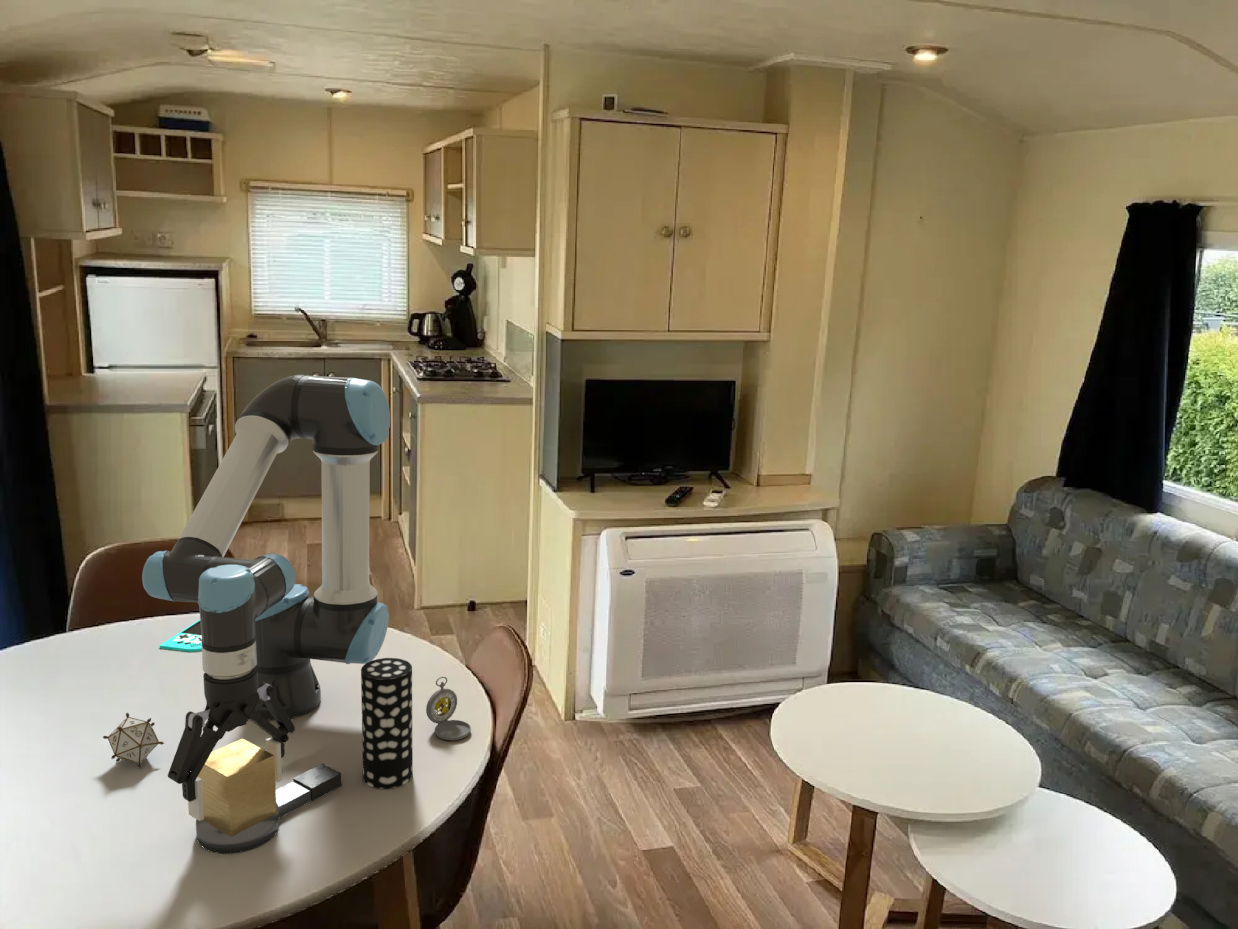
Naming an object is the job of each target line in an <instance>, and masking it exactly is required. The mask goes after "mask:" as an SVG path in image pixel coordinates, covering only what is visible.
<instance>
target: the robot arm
mask: <svg viewBox="0 0 1238 929" xmlns="http://www.w3.org/2000/svg"><path fill="white" fill-rule="evenodd" d="M389 429H391V413H390V405H389V401H388V399H387V395H386V392H385V391H384V389H383V388H382V387H381V386H380V385H379V384H378V383H376V381H372V380H369V379H363V378H357V377H343V376H340V377H339V376H337V377H336V376H325V375H324V376H321V375H309V374H295V375H290V376H287V377H286V376H285V377H284V378H281V379H279V380H277V381H275V382H273V383H272V384H270V385H268V386H267V387H266V388H264V389H263V390H261V391H260V392H259V393H257V395H255V397H254V398H253V399H252V400H251V401H250V402H249V403H248V404H247V405H246V406H245V407H244V409H243V410H242V412H241V413H240V415H239V417H238V419H237V420H236V422H235V425H234V431H235V437H234V438H233V440H232V441H231V443H230V445H229V447H228V449H227V450H226V452H225V454H224V456H223V458H222V460H221V462H220V463H219V465H218V468H216V471H215V472H214V474H213V476H212V478H211V480H210V481H209V483H208V485H207V486H206V489H205V490H204V492H203V494H202V496H201V498H200V500H199V501H198V503H197V505H196V506H195V508H194V510H193V512H192V514H191V516H190V517H189V519H188V520H187V521H188V522H187V523H186V525H185V526H184V528H183V530H182V532H181V534H180V535H179V537H178V539H177V541H176V542H175V544H174V545H173V547H172V549H171V550H170V551H169V550H164V551H162V550H159V551H156V552H154V553H153V554H152V555H149V557H148V558H147V559H146V561H145V563H144V565H143V569H142V575H141V577H142V578H141V580H142V586H143V589H144V590H145V591H146V594H148V595H149V596H150V597H153V598H155V599H160V600H166V601H171V602H184V603H197V604H198V607H199V608H198V610H199V620H200V622H201V634H202V651H201V659H202V660H201V662H202V670H203V672H204V673H203V694H204V697H205V698H204V699H205V702H206V705H205V708H204V710H201V711H199V712H193V711H188V712H186V714H185V724H184V729H183V732H182V735H181V738H180V741H179V743H178V745H177V749H176V750H175V751H176V752H175V754H174V757H173V759H172V762H171V765H170V768H169V770H168V774H167V777H168V779H170V780H171V781H173V782H175V783H177V784H178V785H181V788H182V798H183V799H184V800H186V801H187V803H188V804H187V805H188V816H190V817H191V818H194V819H195V820H196V819H197V820H199V821H201V820H203V819H204V808H203V791H202V779H200V778H199V777H198V775H199V773H200V771H201V770H202V768H203V766H204V765H205V763H206V761H207V759H208V758H209V756H210V754H211V752H213V751H214V748H215V747H216V745H217V743H218V742H219V741H220V740H222V739H223V738H224V736H225V734H226V733H227V732H228V733H229V732H232V731H233V730H235V729H236V728H239V727H243V726H245V725H247V722H248V721H251V722H252V723H253V724H255V726H257V727H259V728H260V729H261V730H263V731H264V732H265V733H267V734H268V735H269V736H270V737H269V738H266V739H265V751H267V752H269V753H271V754H273V755H274V764H275V782H277V783H279V782H281V781H283V773H282V772H283V771H282V759H283V758H285V752H286V751H285V743H287V742H288V741H289V739H290V736H289V735H288V734H292V733H294V732H295V730H296V726H295V724H294V723H293V722H292V720H291V719H292V718H296V717H297V718H298V717H299V716H302V715H305V714H308V713H309V712H311V711H313V710H314V709H315V708H317V707H318V705H319V704H320V703H321V700H322V696H321V695H322V694H321V693H322V691H321V685H320V683H319V680H318V677H317V674H316V673H315V670H314V668H313V666H312V663H311V660H317V661H318V660H319V661H326V662H335V663H341V664H342V663H343V664H346V665H350V664H358V665H365V664H366V663H368V662H370V661H373V660H375V658H376V657H377V655H378V654H379V653H380V650H381V648H382V646H383V644H384V641H385V639H386V635H387V631H388V627H389V620H390V614H389V612H390V611H389V610H388V606H387V605H386V604H384V603H383V602H378V590H377V589H376V588H375V587H374V586H373V585H372V584H371V583H370V502H371V501H370V498H371V497H370V496H371V495H370V493H371V492H370V486H371V484H370V481H371V476H370V473H371V472H370V469H371V468H370V465H371V464H370V462H371V460H372V459H373V458H374V457H375V456H376V454H378V452H379V445H382V444H384V443H385V442H386V441H387V439H388V437H389V434H390V431H389ZM297 439H304V440H305V439H306V440H311V441H312V453H314V454H315V455H316V456H317V457H318V458H319V459H320V461H321V579H322V580H321V581H322V583H321V585H320V586H319V587H318V588H317V589H316V590H315V591H314V593H313V596H310V591H309V588H308V586H306V585H303V584H301V583H299V584H298V583H296V578H297V576H296V570H295V568H294V566H293V565H292V563H291V561H290V560H288V558H287V557H285V556H283V555H281V554H279V553H275V552H274V553H273V552H271V553H270V552H269V553H267V554H263V555H259V556H258V557H255V558H254V559H247V558H235V557H225V555H226V554H227V551H228V549H229V547H230V545H231V543H232V542H233V540H234V537H235V536H236V534H237V531H238V529H239V528H240V527H241V524H242V523H243V521H244V518H245V516H246V514H247V513H248V510H250V509H249V508H250V507H251V505H252V502H253V501H254V499H255V498H256V495H257V493H258V491H259V490H260V487H261V486H262V483H263V481H264V480H265V477H266V475H267V474H268V471H269V469H270V468H271V466H272V464H273V463H274V460H275V458H276V456H277V454H281V453H283V452H284V451H285V450H287V447H288V446H289V444H290V442H292V441H293V440H297ZM270 721H275V723H277V726H278V727H276V726H275V725H274V724H273V723H272V722H270ZM214 727H215V728H217V730H214Z"/></svg>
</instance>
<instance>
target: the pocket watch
mask: <svg viewBox="0 0 1238 929" xmlns="http://www.w3.org/2000/svg"><path fill="white" fill-rule="evenodd" d="M440 679H445V682H444V681H441V682H440V683H438V682H439V680H440ZM447 682H448V678H447V677H446V676H440V677H438V678H437V679H436V681H435V685H436V686H437V687H439V688H440V689H438V690H436V691H435V692H434V693H433V694H432V695H431V696H430V697H429V699H428V701H427V704H426V707H425V708H426V710H425V711H426V712H425V714H426V716H427V718H428V719H429V721H431V723H433V724H437V725H435V728H434V734H435V735H436V736H437V737H438V738H439V739H442V740H447V741H456V740H461V739H464V738H466V737H467V736H469V735H470V733H471V730H472V727H471V724H469V723H468V722H467V721H464V720H457V719H451V720H449V719H450V718H451V717H452V716H453V714H455V712H456V709H457V705H458V696H457V694H456V692H455V691H454V690H452V689H450V688H444V687H445V686H446V684H447ZM439 712H440V713H439Z"/></svg>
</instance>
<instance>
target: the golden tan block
mask: <svg viewBox="0 0 1238 929" xmlns="http://www.w3.org/2000/svg"><path fill="white" fill-rule="evenodd" d="M198 777H199V778H200V779H202V791H203V808H204V819H203V820H204V821H206V822H207V823H209V824H210V825H212V826H214V827H215V828H217V829H218V830H220V831H222V832H223V833H225V834H226V835H228V836H230V837H232V836H234V835H236V834H238V833H240V832H242V831H244V830H246V829H248V828H249V827H251V826H253V825H255V824H257V823H259V822H261V821H263V820H265V819H267V818H268V817H270V816H272V815H274V814H276V790H277V788H276V781H275V764H274V755H273V754H271V753H269V752H267V751H266V749H263V748H262V747H260V746H258V745H256V744H254V743H252V742H251V741H248V740H247V739H244V738H240V739H238V740H235V741H234V742H230V743H229V744H226V745H225V746H222V747H220V748H218V749H216V750H213V751H212V752H211V754H210V756H209V758H208V759H207V761H206V763H205V765H204V766H203V768H202V770H201V771H200V773H199V775H198Z"/></svg>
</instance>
